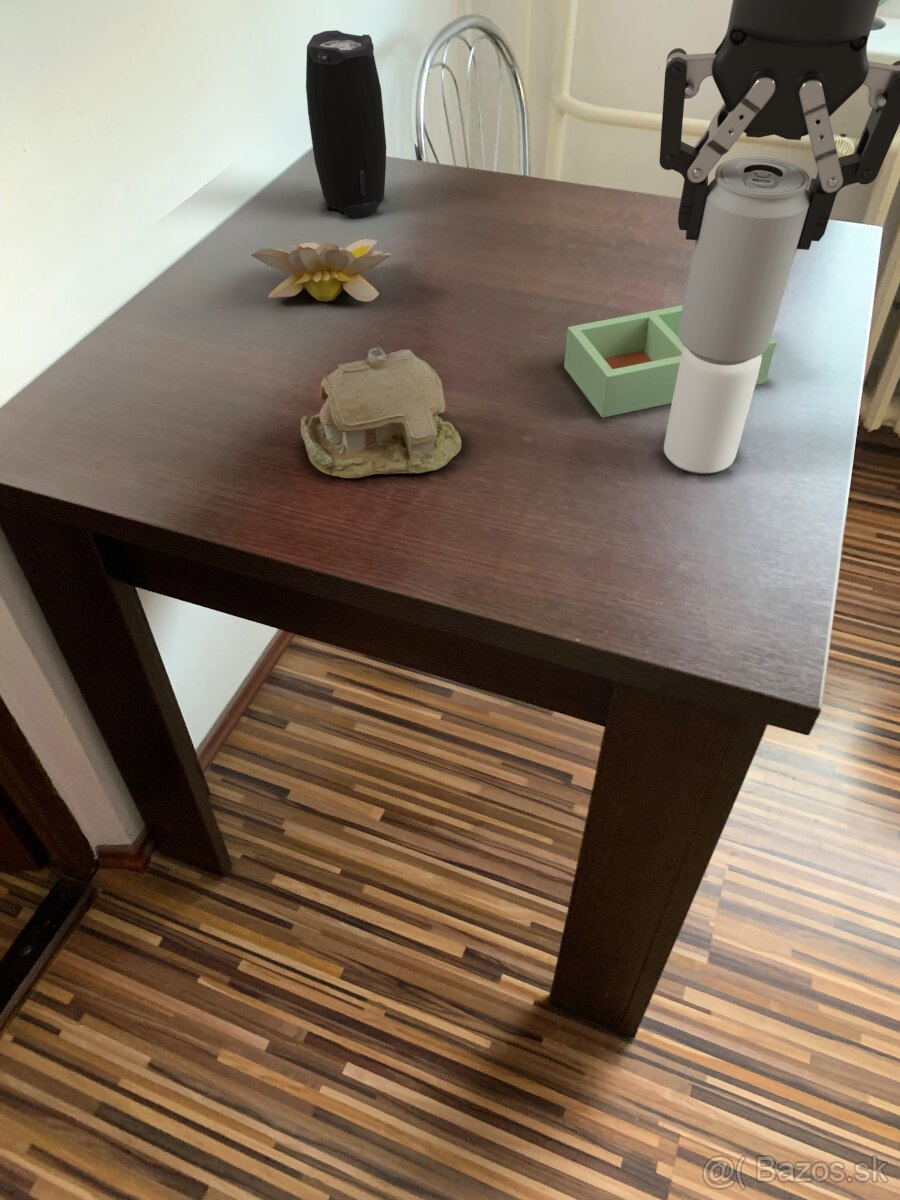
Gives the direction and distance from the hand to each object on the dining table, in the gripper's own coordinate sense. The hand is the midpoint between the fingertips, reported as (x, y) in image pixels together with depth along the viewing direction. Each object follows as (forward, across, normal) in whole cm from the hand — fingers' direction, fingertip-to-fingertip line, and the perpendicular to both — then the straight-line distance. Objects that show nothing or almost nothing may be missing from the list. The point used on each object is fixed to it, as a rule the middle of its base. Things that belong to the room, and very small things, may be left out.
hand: (746, 238), depth 58 cm
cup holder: (+24, -2, +21) cm, 32 cm away
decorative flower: (+25, -40, +32) cm, 57 cm away
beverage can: (+8, 0, 0) cm, 8 cm away
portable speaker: (+25, -44, +55) cm, 75 cm away
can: (+24, +2, +9) cm, 26 cm away
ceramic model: (+24, -27, +5) cm, 37 cm away
